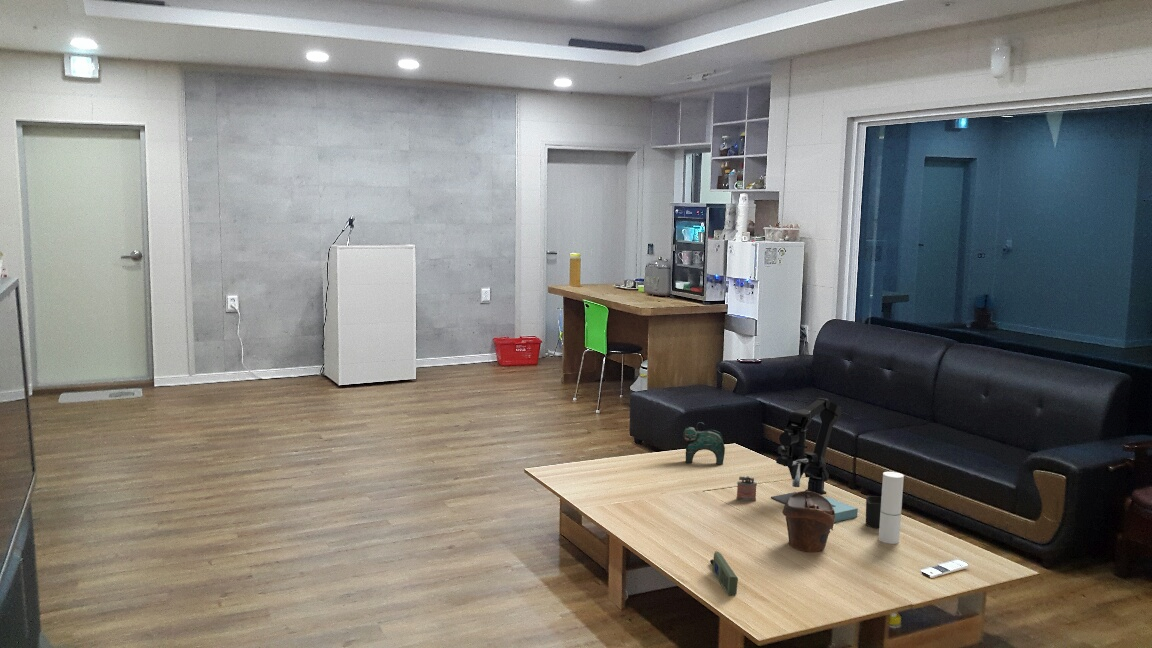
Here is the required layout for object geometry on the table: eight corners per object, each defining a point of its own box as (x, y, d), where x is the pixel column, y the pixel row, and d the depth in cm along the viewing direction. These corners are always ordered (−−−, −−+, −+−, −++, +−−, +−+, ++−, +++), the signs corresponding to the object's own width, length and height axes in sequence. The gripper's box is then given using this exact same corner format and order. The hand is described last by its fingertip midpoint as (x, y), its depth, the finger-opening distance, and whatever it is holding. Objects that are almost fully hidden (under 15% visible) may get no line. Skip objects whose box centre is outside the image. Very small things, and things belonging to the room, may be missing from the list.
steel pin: (795, 484, 365) (797, 461, 364) (801, 486, 362) (802, 463, 361) (790, 485, 364) (791, 462, 362) (795, 487, 361) (797, 464, 360)
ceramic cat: (681, 463, 414) (683, 422, 412) (682, 459, 421) (684, 419, 418) (724, 466, 411) (726, 424, 409) (724, 462, 418) (726, 421, 415)
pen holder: (891, 523, 339) (893, 498, 338) (889, 531, 331) (890, 505, 330) (866, 519, 343) (867, 494, 342) (863, 526, 335) (864, 501, 334)
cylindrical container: (898, 538, 324) (903, 473, 321) (899, 544, 317) (904, 478, 314) (878, 535, 326) (883, 470, 323) (878, 542, 319) (883, 476, 316)
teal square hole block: (826, 504, 359) (827, 496, 359) (857, 516, 346) (857, 508, 345) (798, 510, 351) (798, 502, 351) (828, 523, 338) (828, 514, 337)
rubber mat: (795, 493, 373) (795, 491, 373) (819, 503, 361) (819, 501, 361) (770, 498, 366) (771, 496, 366) (794, 508, 354) (795, 506, 354)
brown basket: (807, 559, 301) (811, 509, 299) (769, 540, 319) (772, 492, 317) (846, 552, 310) (849, 503, 308) (807, 533, 327) (810, 487, 325)
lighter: (755, 499, 365) (756, 476, 363) (756, 501, 361) (757, 478, 360) (736, 498, 365) (737, 475, 364) (736, 500, 362) (737, 477, 361)
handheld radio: (726, 597, 271) (706, 564, 296) (737, 597, 272) (715, 564, 296) (728, 576, 271) (708, 545, 295) (739, 576, 271) (717, 546, 296)
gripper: (800, 435, 372) (798, 470, 374) (767, 440, 363) (765, 476, 365) (820, 441, 363) (817, 478, 365) (786, 446, 353) (784, 484, 355)
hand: (796, 478), depth 363 cm, fingers closed on steel pin, 3 cm apart
